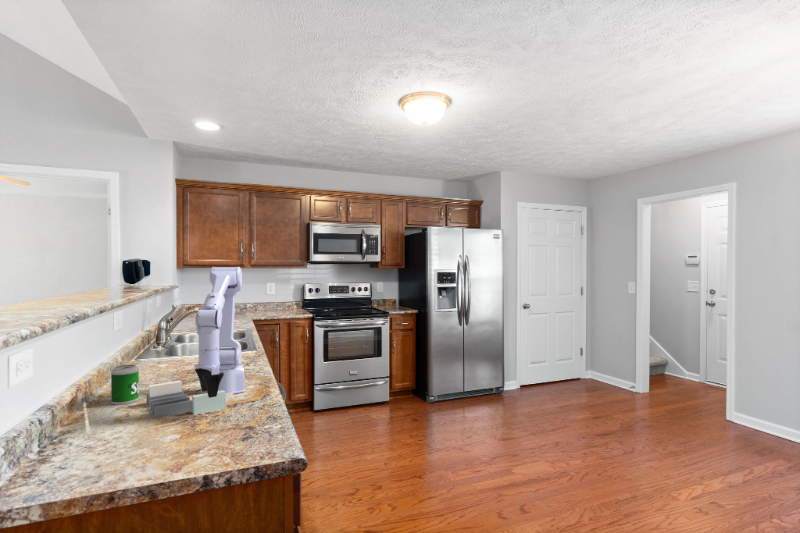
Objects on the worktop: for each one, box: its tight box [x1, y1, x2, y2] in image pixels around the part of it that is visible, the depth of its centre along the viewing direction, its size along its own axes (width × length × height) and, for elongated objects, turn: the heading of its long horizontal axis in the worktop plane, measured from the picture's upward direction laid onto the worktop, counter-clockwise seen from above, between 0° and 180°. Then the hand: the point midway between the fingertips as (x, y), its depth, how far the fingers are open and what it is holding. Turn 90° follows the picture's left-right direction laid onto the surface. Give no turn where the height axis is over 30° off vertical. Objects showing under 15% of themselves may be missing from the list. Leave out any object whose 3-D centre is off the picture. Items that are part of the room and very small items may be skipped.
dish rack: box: [144, 390, 192, 419], centre depth 131 cm, size 11×16×4 cm
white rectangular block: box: [148, 380, 183, 397], centre depth 136 cm, size 9×2×6 cm, turn 128°
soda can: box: [110, 364, 140, 406], centre depth 137 cm, size 8×8×12 cm
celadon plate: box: [191, 390, 227, 416], centre depth 128 cm, size 9×2×6 cm, turn 128°
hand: (209, 393), depth 128 cm, fingers open, 7 cm apart
